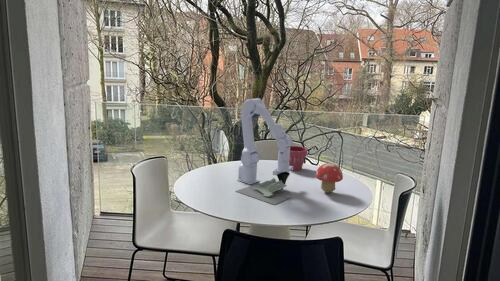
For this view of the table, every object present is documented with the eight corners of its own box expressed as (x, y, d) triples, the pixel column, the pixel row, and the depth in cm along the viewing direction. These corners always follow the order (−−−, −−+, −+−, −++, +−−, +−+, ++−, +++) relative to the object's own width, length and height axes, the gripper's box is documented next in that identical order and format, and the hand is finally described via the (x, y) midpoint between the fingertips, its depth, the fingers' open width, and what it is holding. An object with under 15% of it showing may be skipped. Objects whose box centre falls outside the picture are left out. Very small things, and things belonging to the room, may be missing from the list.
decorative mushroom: (321, 198, 179) (323, 167, 176) (309, 188, 191) (311, 160, 188) (346, 196, 182) (349, 166, 179) (333, 187, 195) (335, 159, 192)
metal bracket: (273, 174, 193) (290, 182, 180) (275, 184, 195) (292, 193, 182) (249, 184, 187) (265, 194, 174) (251, 195, 189) (267, 205, 176)
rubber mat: (235, 191, 183) (235, 190, 183) (253, 185, 193) (253, 185, 193) (274, 205, 168) (274, 204, 168) (291, 198, 177) (291, 197, 177)
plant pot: (279, 170, 222) (280, 149, 219) (284, 164, 235) (285, 144, 232) (303, 173, 218) (305, 152, 215) (307, 167, 231) (308, 147, 228)
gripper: (281, 164, 179) (279, 191, 182) (298, 159, 189) (296, 184, 192) (269, 161, 183) (268, 187, 186) (287, 156, 194) (285, 181, 197)
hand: (282, 186), depth 190 cm, fingers closed
